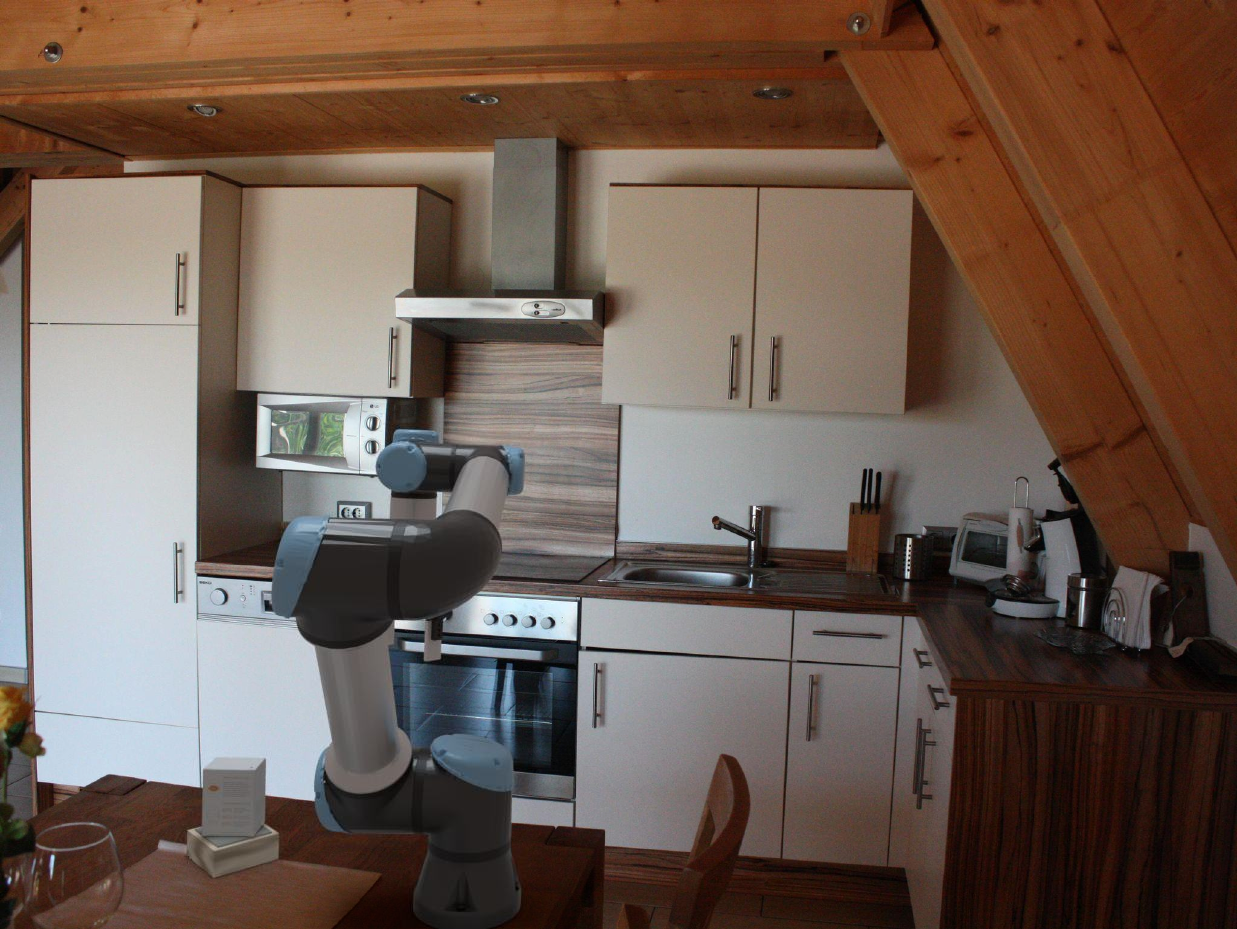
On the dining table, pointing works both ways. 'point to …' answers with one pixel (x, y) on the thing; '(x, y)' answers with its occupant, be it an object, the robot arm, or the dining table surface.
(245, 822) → the small box
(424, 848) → the dining table surface
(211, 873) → the birch stand
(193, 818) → the dining table surface
